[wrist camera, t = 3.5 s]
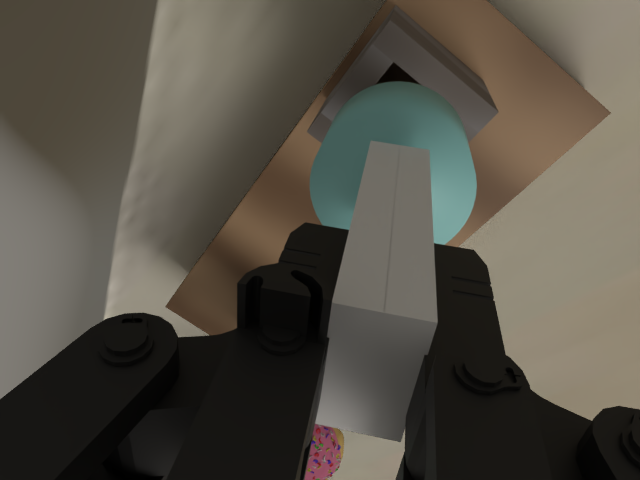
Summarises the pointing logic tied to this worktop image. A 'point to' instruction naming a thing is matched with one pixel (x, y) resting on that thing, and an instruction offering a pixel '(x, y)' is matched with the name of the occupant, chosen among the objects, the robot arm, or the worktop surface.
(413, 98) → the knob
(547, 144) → the mount
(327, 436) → the cupcake
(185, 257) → the worktop surface
